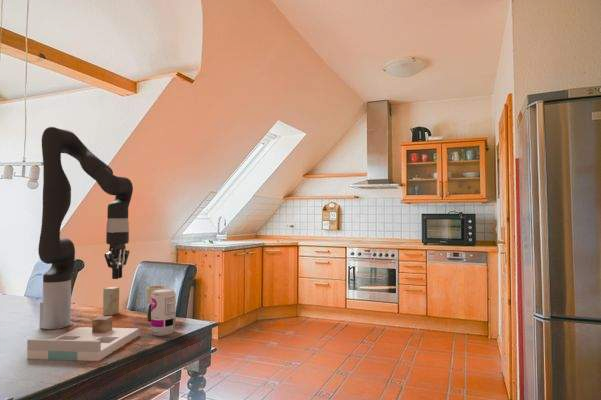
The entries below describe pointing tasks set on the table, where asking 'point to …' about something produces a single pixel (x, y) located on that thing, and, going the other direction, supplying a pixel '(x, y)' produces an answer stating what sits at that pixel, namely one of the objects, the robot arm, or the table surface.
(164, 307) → the supplement can
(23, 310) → the table surface
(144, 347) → the table surface
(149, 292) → the character mug
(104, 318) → the walnut block
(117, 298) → the box
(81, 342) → the board
